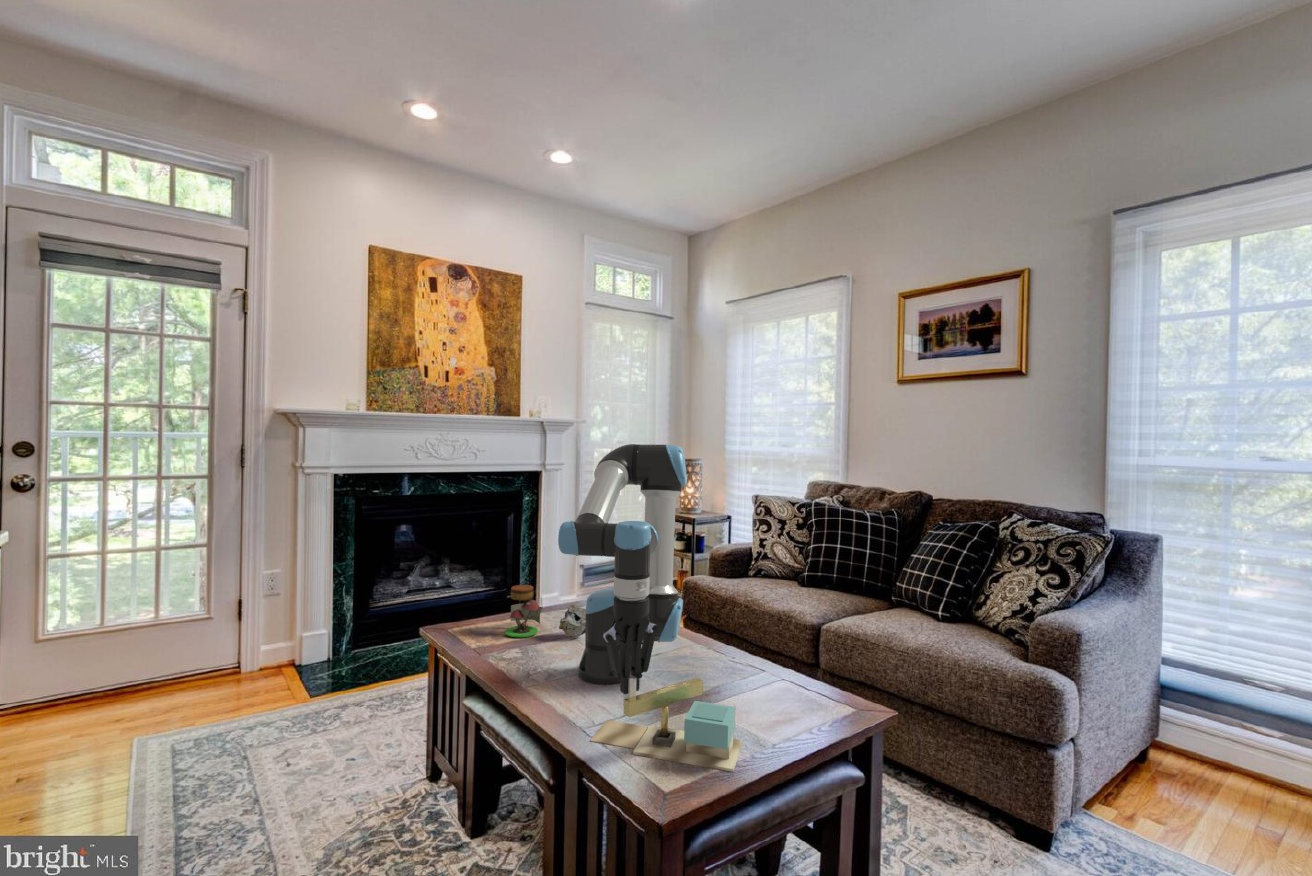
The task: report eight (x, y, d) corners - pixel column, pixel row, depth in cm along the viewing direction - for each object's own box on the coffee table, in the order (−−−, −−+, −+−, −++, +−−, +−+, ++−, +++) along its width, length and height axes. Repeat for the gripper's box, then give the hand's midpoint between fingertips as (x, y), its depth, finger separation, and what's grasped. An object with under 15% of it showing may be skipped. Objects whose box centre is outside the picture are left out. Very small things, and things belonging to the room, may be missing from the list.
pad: (590, 741, 131) (590, 740, 131) (606, 720, 141) (606, 719, 141) (633, 749, 128) (633, 748, 128) (647, 727, 138) (648, 726, 138)
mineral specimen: (570, 644, 191) (571, 612, 191) (555, 638, 197) (556, 607, 197) (594, 637, 198) (595, 607, 198) (579, 631, 204) (579, 601, 204)
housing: (633, 754, 126) (633, 737, 126) (650, 727, 138) (650, 712, 138) (733, 772, 120) (733, 754, 120) (742, 743, 132) (742, 727, 132)
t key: (628, 756, 124) (629, 702, 124) (622, 751, 125) (624, 699, 125) (702, 729, 136) (703, 680, 136) (696, 725, 138) (697, 677, 137)
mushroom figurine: (538, 638, 196) (539, 592, 196) (499, 637, 196) (500, 591, 196) (545, 627, 208) (546, 583, 208) (508, 626, 208) (509, 582, 208)
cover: (684, 742, 125) (684, 717, 125) (694, 722, 133) (694, 699, 133) (727, 749, 122) (728, 724, 122) (734, 729, 131) (735, 706, 131)
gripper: (612, 604, 121) (610, 722, 121) (667, 596, 128) (665, 707, 128) (595, 595, 127) (593, 707, 128) (648, 587, 134) (646, 693, 135)
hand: (629, 707), depth 128 cm, fingers closed, pressing on t key
